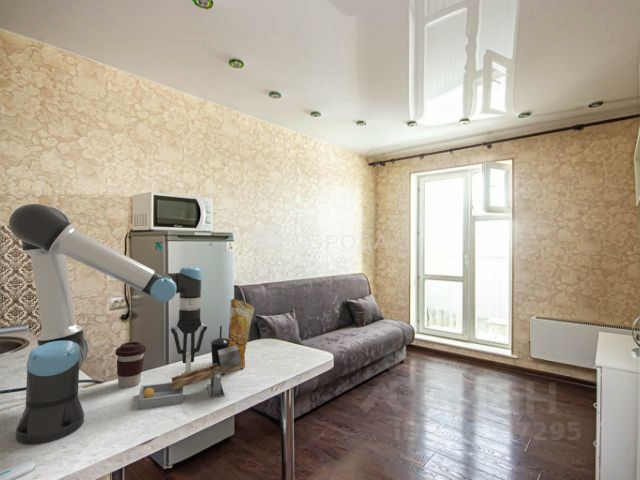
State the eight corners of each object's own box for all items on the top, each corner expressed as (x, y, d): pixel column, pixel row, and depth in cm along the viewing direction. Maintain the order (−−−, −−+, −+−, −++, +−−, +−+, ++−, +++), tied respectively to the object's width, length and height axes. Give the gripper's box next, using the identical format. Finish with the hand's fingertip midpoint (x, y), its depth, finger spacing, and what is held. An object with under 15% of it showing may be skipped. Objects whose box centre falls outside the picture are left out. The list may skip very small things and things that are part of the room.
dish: (137, 409, 107) (137, 400, 107) (140, 393, 117) (141, 385, 117) (182, 402, 112) (183, 394, 112) (182, 388, 123) (182, 380, 123)
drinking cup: (222, 378, 132) (225, 329, 132) (205, 376, 134) (207, 327, 134) (231, 371, 140) (233, 324, 140) (215, 369, 141) (217, 322, 141)
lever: (172, 390, 113) (168, 370, 113) (172, 377, 124) (169, 359, 123) (242, 368, 123) (238, 349, 122) (236, 357, 133) (233, 340, 133)
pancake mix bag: (234, 355, 159) (237, 297, 159) (253, 368, 144) (256, 304, 145) (221, 358, 155) (223, 298, 155) (239, 371, 140) (242, 305, 140)
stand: (209, 397, 116) (210, 373, 116) (207, 385, 126) (207, 363, 126) (224, 395, 118) (225, 371, 118) (220, 383, 128) (221, 361, 128)
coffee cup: (116, 392, 118) (118, 350, 118) (112, 382, 125) (113, 342, 125) (146, 385, 124) (148, 345, 124) (141, 376, 132) (142, 338, 132)
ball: (141, 392, 111) (152, 388, 112) (142, 388, 114) (153, 384, 115) (144, 402, 111) (155, 398, 112) (145, 397, 114) (155, 393, 115)
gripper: (170, 311, 118) (168, 377, 118) (209, 309, 123) (207, 372, 123) (170, 307, 125) (168, 369, 125) (207, 305, 130) (205, 365, 130)
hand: (187, 371), depth 124 cm, fingers closed
